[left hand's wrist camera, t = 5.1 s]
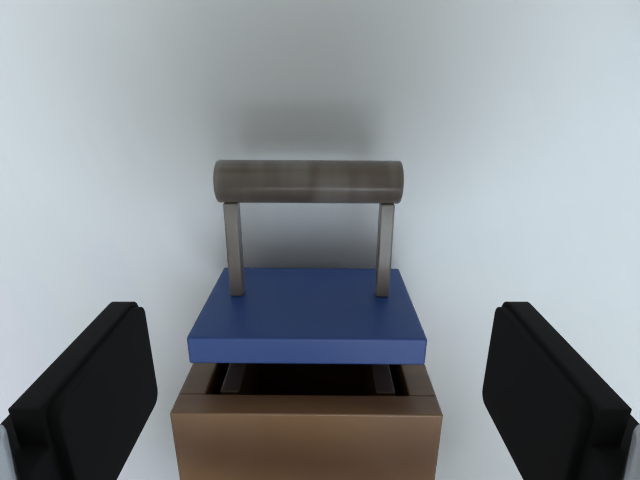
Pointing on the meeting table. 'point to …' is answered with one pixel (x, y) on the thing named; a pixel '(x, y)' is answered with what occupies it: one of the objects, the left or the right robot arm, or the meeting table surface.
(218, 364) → the cabinet
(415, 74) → the meeting table surface
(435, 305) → the meeting table surface
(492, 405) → the left robot arm
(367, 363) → the drawer
